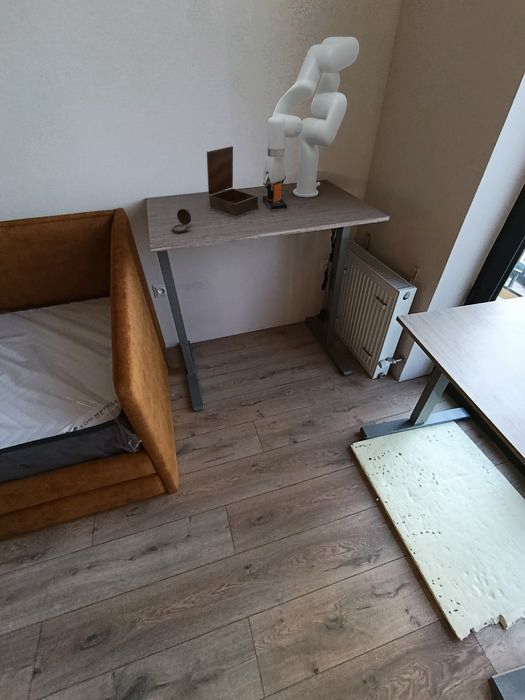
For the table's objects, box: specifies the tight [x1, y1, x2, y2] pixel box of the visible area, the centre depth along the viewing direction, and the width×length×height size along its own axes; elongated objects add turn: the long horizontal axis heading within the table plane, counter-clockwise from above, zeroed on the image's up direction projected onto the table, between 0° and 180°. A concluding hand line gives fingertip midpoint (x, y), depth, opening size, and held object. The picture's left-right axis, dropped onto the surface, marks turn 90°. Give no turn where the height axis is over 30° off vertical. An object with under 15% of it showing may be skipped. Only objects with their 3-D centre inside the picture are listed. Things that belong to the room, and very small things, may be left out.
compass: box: [171, 208, 192, 234], centre depth 132 cm, size 8×8×7 cm
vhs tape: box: [262, 195, 288, 210], centre depth 156 cm, size 8×14×2 cm, turn 15°
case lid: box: [206, 145, 234, 196], centre depth 147 cm, size 17×14×5 cm
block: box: [266, 182, 283, 202], centre depth 153 cm, size 4×4×7 cm
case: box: [208, 187, 259, 217], centre depth 150 cm, size 16×14×6 cm
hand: (274, 197), depth 154 cm, fingers closed on block, 4 cm apart
